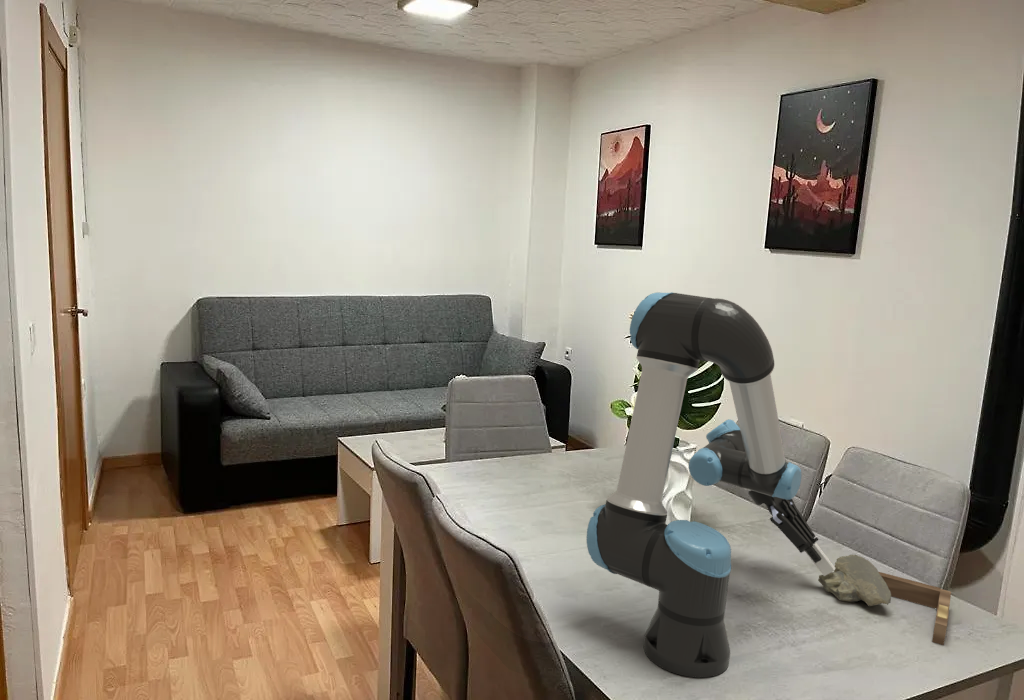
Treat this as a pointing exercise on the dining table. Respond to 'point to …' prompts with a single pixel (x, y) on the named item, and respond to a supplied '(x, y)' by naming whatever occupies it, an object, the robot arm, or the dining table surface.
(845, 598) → the jagged rock
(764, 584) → the dining table surface
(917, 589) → the brown wooden l-shaped piece
